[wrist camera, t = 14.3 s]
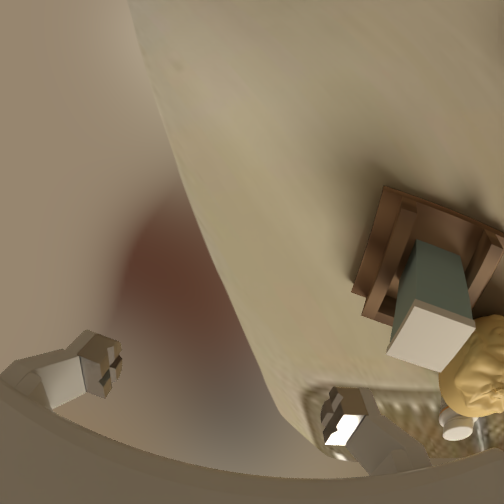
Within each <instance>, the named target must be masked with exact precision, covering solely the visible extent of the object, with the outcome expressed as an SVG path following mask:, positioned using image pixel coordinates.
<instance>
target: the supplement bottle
mask: <svg viewBox="0 0 504 504" xmlns="http://www.w3.org/2000/svg"><path fill="white" fill-rule="evenodd" d="M477 419H478V417H466V416H463V415H460V414H458V413H456V412H455V411H453V410H452V409H451V408H450V407H449V406H448V405H447V403H446V402H445V400H444V399H443V397H442V396H441V406H440V414H439V422H440V424H441V426H443V437H444V438H445V439H446V440H451V441H456V440H461V439H464V438H466V437H468V436H470V435H471V434H472V432H473V425H474V422H475V421H476V420H477Z"/></svg>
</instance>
